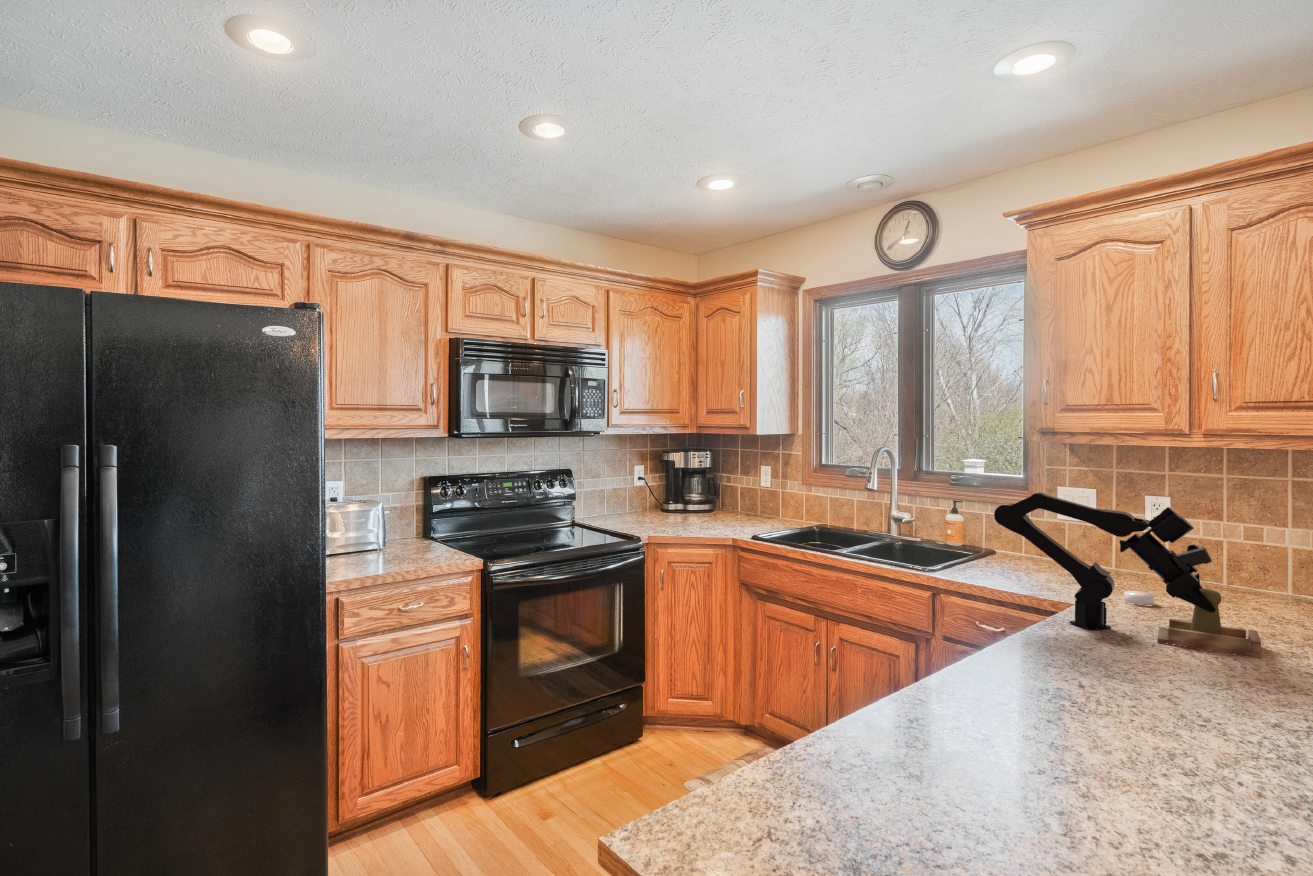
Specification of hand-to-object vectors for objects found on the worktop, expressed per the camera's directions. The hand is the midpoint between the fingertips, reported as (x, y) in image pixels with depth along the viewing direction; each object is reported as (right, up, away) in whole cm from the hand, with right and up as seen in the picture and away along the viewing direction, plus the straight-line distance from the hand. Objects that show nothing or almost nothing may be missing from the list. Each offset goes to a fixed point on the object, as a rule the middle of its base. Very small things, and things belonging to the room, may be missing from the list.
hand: (1213, 609), depth 155 cm
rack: (-1, -8, +1) cm, 8 cm away
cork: (-1, -7, +1) cm, 7 cm away
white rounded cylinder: (+11, -8, +39) cm, 41 cm away
